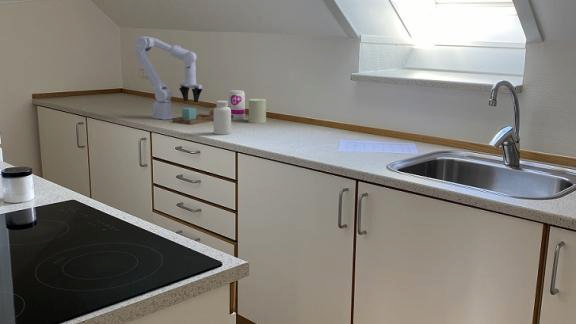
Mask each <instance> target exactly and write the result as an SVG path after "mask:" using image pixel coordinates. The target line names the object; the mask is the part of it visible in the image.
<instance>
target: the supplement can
mask: <svg viewBox="0 0 576 324" xmlns="http://www.w3.org/2000/svg"><path fill="white" fill-rule="evenodd" d="M245 97H246V96H245V91H244V90H241V89H233V90H232V89H231V90H229V93H228V100H229V101H228V107H229V108H230V109H231V121H243V120H244V119H245V118H246V100H245V99H246V98H245Z"/></svg>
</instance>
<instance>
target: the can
mask: <svg viewBox="0 0 576 324" xmlns="http://www.w3.org/2000/svg"><path fill="white" fill-rule="evenodd" d="M248 123H250V124H265V123H267V99H265V98H249V99H248Z"/></svg>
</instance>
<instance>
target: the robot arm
mask: <svg viewBox="0 0 576 324" xmlns="http://www.w3.org/2000/svg"><path fill="white" fill-rule="evenodd" d="M134 46H135V57H136V59H137V61H138V62H139V64H140V66H141V68H142V69H143V71H144V73H145V74H146V76H147V78H148V80H149V82H150V83H151V85H152V86H153V90H152V91H153V93H154V97H155V100H156V101H154V102H153V104H152V117H151V118H152V119H157V120H171V119H172V120H173V118H176V117H174V116H172V101H171V99H172V97H173V92H172V90H171V89H170V88H169V87H168V86H167V85H166V84H165V83H164V82H163V81H162V79H161V77H160V76H159V74H158V72H157V70H156V68H155V67H154V65H153V63H152V62H151V60H150V58H149V56H148V55H149V52H150V50H151V49H152V48H154V47H156V48H158V49H160V50H163V51H165V52H168V53H170V56H172V57H174V58H176V59H178V60H181V61H183V62H184V82H179V88H178V89H179V92H180V93H181V96H182V98H183V99H182V100H183V102H188V99H189V91H190V88H191V91H192V97H193V102H194V103H198V102H199V99H200V95H201V93H202V91H203V85H202V84H200V83H197V73H196V72H197V66H196V65H197V64H196V61H197V60H198V56H197V54H196V52H194V51H193V50H191V51H190V50H189V49H188V48H187V49H184V48H182V47H181V45H176V44H175V45H170V44H169V43H166V42H164V41H162V40H160V39H158V38H155V37H153V36H152V37H151V36H150V35H146V36H142V35H139V36H138V37H137V38H136V39H135V41H134Z"/></svg>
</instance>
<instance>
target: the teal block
mask: <svg viewBox="0 0 576 324" xmlns="http://www.w3.org/2000/svg"><path fill="white" fill-rule="evenodd" d="M196 114H197V108H193V107H183V108H181V117H182V119H188V120H190V119H196Z"/></svg>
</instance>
